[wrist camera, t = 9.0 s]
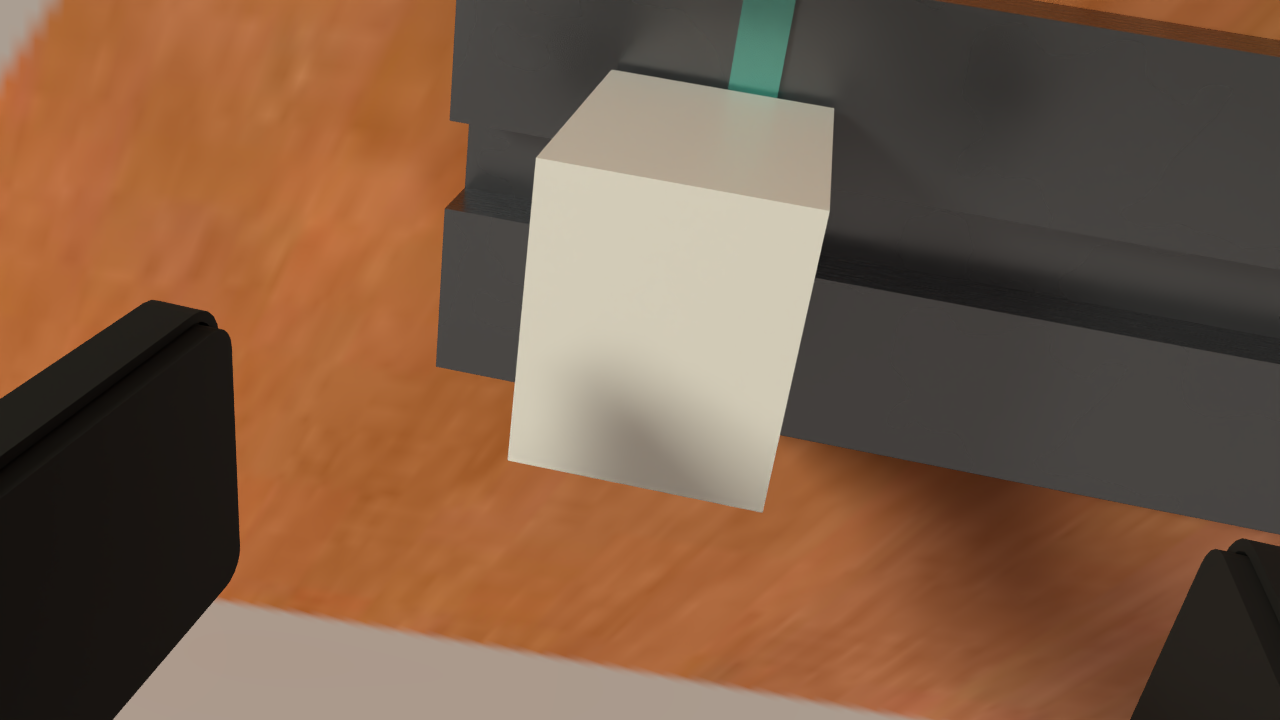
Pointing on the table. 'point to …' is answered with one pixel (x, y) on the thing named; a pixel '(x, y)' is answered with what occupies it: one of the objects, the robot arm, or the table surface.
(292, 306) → the table surface
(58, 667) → the robot arm
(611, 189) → the fader tab
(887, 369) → the fader housing
